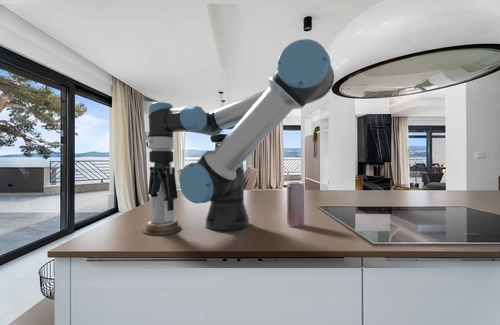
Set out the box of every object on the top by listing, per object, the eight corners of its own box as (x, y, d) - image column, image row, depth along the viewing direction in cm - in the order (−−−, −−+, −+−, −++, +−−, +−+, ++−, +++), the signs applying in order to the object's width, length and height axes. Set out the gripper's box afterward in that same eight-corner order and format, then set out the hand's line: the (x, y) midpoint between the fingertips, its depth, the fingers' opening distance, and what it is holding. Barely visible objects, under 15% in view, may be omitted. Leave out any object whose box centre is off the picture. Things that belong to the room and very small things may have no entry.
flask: (166, 225, 80) (166, 193, 80) (146, 224, 82) (145, 193, 82) (178, 219, 87) (177, 190, 87) (159, 218, 89) (158, 190, 89)
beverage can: (287, 223, 92) (286, 181, 92) (303, 223, 92) (303, 182, 92) (287, 227, 87) (286, 183, 86) (305, 227, 86) (304, 183, 86)
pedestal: (185, 225, 90) (185, 217, 90) (174, 235, 78) (174, 226, 78) (152, 225, 91) (151, 217, 91) (135, 235, 79) (135, 226, 79)
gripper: (137, 151, 90) (138, 214, 90) (165, 149, 74) (166, 226, 74) (158, 151, 95) (159, 211, 95) (188, 149, 79) (189, 221, 79)
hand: (162, 217), depth 84 cm, fingers open, 9 cm apart
